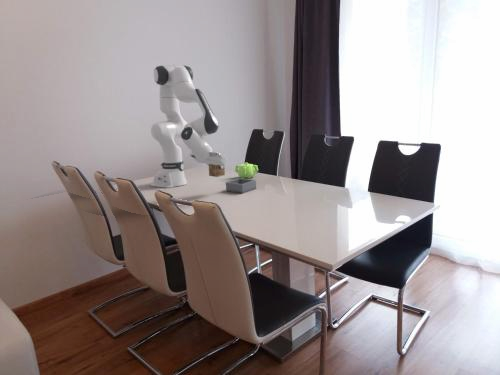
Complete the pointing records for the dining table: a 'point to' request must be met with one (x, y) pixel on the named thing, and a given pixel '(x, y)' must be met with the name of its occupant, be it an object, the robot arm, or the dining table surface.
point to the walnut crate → (216, 170)
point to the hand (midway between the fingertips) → (217, 166)
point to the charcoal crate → (241, 185)
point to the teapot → (246, 170)
